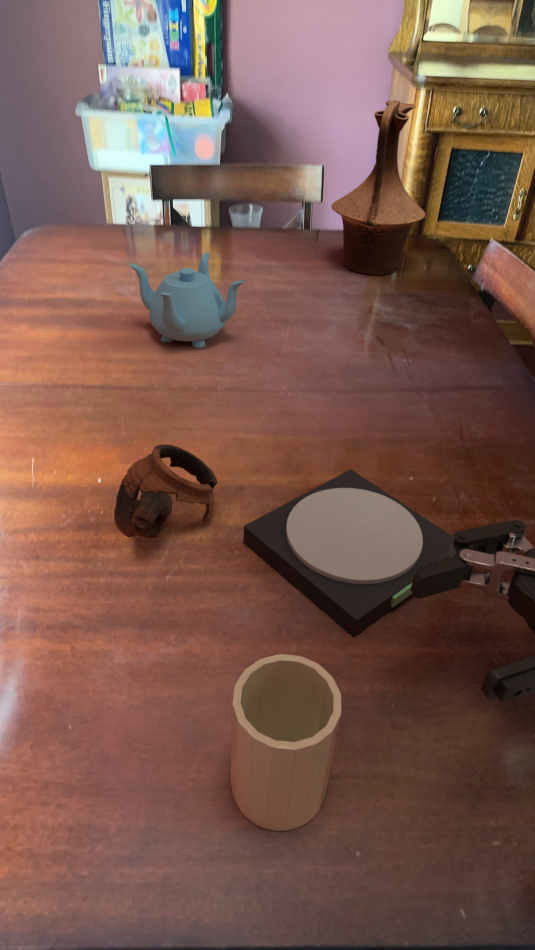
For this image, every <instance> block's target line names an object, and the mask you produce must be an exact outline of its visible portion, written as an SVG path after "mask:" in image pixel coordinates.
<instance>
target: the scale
mask: <svg viewBox="0 0 535 950" xmlns="http://www.w3.org/2000/svg"><path fill="white" fill-rule="evenodd" d="M452 539H453V535H452V534H450V533H449V532H447V531H446V530H444V529H443V528H441V527H440V526H438V525H436V524H435V523H434V522H432V521H431V520H429V519H428V518H426V517H424V516H423V515H421V514H420V513H418V512H417V511H415V510H414V509H412V508H410V507H409V506H408V505H406V504H404V503H403V502H401V501H400V500H398V499H397V498H396V497H394V496H392V495H391V494H389V493H388V492H387V491H386V490H384V489H381V487H379V486H377V485H376V484H374V483H373V482H372V481H370V480H368V479H367V478H365V477H364V476H362V475H361V474H359V473H357V472H356V471H355V470H353V469H348V470H346V471H345V472H343V473H340V474H339V475H337V476H335V477H333V478H331V479H329V480H327V481H326V482H323V483H322V484H320V485H318V486H316V487H314V488H312V489H310V490H308V491H307V492H305V493H303V494H301V495H299V496H298V497H295V498H294V499H292V500H289V501H288V502H286V503H284V504H282V505H280V506H278V507H277V508H275V509H273V510H271V511H269V512H267V513H265V514H263V515H261V516H260V517H258V518H256V519H254V520H251V521H250V522H249V523H247V524H245V525H244V526H243V543H244V544H245V545H246V546H247V547H248V548H249V549H251V550H252V552H254V553H255V554H256V555H258V556H259V557H260V558H261V559H262V560H263V561H265V562H266V563H267V565H269V566H270V567H272V568H273V569H274V570H275V571H276V572H277V573H279V574H280V575H281V576H282V577H283V578H284V579H286V580H287V581H288V582H289V583H290V584H291V585H293V586H294V587H295V588H296V589H297V590H298V591H299V592H301V593H302V594H303V595H304V596H305V597H306V598H307V599H309V600H310V601H311V602H312V603H313V604H315V605H316V606H317V607H318V608H319V609H321V611H323V612H324V613H325V614H326V615H328V616H329V617H330V618H331V619H332V620H333V621H334V622H336V624H338V625H339V626H340V627H341V628H343V629H344V630H345V631H346V632H348V634H350V635H351V636H352V637H353V638H355V637H356V636H357V635H359V634H360V633H362V632H363V631H364V630H366V629H367V628H368V627H370V626H372V624H374V623H375V622H376V621H378V620H379V619H381V618H382V617H384V616H385V615H386V614H388V613H389V612H390V611H392V610H393V609H394V608H396V607H397V606H399V605H400V604H401V603H402V602H404V601H406V600H407V599H409V598H410V597H411V596H412V595H414V594H413V593H412V591H411V585H412V581H413V577H414V575H415V573H416V572H417V570H418V568H419V567H420V566H422V565H424V564H428V563H429V564H430V563H432V562H435V561H439V560H443V559H447V556H448V553H449V549H450V546H451V542H452Z"/></svg>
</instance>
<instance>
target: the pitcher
mask: <svg viewBox="0 0 535 950" xmlns="http://www.w3.org/2000/svg"><path fill="white" fill-rule="evenodd" d="M385 105H386V107H385V109H384V110H377V111H375V112H374V119H375V122H376V124H377V126H378V134H377V135H378V136H377V143H376V150H375V151H376V154H375V164H374V165H373V168H372V170H371V172H370V174H368V176H367V177H366V179H364V181H362V182H361V183H360V184H359V185H358V186H356V188H354V189H353V190H352V191H349V192H348V193H347V194H345V195H344V196H342V197H340V198H338V199H337V200H335V201H333V202H332V204H331V209H332V211H334V212H335V213H336V214H338V215H340V218H341V220H342V235H343V236H342V239H343V245H342V246H343V252H342V259H341V262H342V265H343V266H344V267H345V268H348V269H349V270H352V271H354V272H357V273H362V274H367V275H378V276H379V275H388V274H392V273H395V272H396V271H398V270H399V268H400V262H401V258H402V254H403V251H404V249H405V246H406V244H407V241H408V237H409V235H410V232H411V230H412V227H413V226H414V224H415V223H417V222H419V221H422V220H423V219H425V217H426V212H425V210H424V209H423V208H422V207H421V206H420V205H418V203H417V202H416V201H415V200H414V199H413V198H412V197H411V196H410V194H409V193H408V191H407V189H406V188H405V186H404V185H403V182H402V179H401V177H400V171H399V163H398V151H399V141H400V134H401V131H402V130H403V129H404V127H405V125H406V124H407V123H408V121H409V119H410V116H409V115H408V113H409V112H411V111H413V110H414V109H416V105H415V104H414V103H406V102H401V101H400V100H398V99H393V100H387V101H385Z"/></svg>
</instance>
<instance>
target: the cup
mask: <svg viewBox="0 0 535 950" xmlns="http://www.w3.org/2000/svg"><path fill="white" fill-rule="evenodd" d="M233 687H234V688H233V696H232V701H231V745H230V746H231V748H230V749H231V752H230V785H231V793H232V797H233V799H234V802H235V805H236V807H237V808H238V809H239V811H240V812H241V814H242V815H243V816H244V817H245V818H246V819H248V821H249V822H251V823H253V824H254V825H255V826H258V827H259V828H262V829H264V830H268V831H274V832H285V831H293V830H295V829H298V828H300V827H302V826H304V825H305V824H307V823H309V822H310V821H311V820H312V819H314V817H315V816H316V815H317V814H318V812H319V811H320V809H321V807H322V805H323V803H324V801H325V796H326V794H327V790H328V786H329V781H330V774H331V769H332V764H333V759H334V754H335V748H336V743H337V739H338V732H339V729H340V728H339V727H340V722H341V718H342V694H341V691H340V690H339V687H338V685H337V683H336V681H335V679H334V677H333V675H331V674H330V673H329V672H328V671H327V670H326V669H325V668H324V667H322V665H320V664H319V663H318V662H315V661H313V660H311V659H309V658H306V657H304V656H301V655H297V654H296V655H295V654H285V653H277V654H274V655H269V656H266V657H262V658H259V659H258V660H256V661H255V662H254V663H252V664H250V665H249V666H248V667H246V668H245V669H244V670H243V672H242V673H241V674H240V676H239V678H238V679H237V681H236V683H234V686H233Z"/></svg>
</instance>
